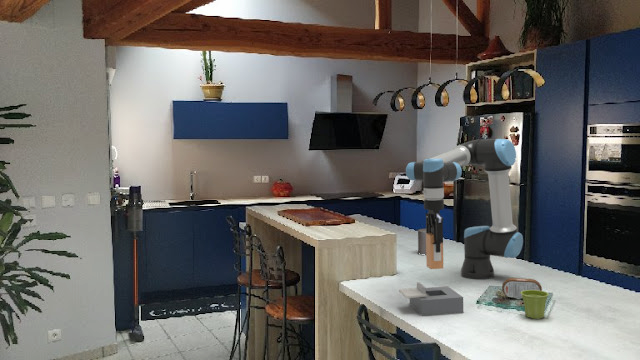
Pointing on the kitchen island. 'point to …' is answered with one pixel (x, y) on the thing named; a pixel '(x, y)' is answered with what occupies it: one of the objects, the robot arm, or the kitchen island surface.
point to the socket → (438, 302)
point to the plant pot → (534, 303)
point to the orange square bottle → (430, 254)
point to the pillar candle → (422, 241)
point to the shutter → (414, 291)
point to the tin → (519, 286)
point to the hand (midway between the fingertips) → (434, 258)
